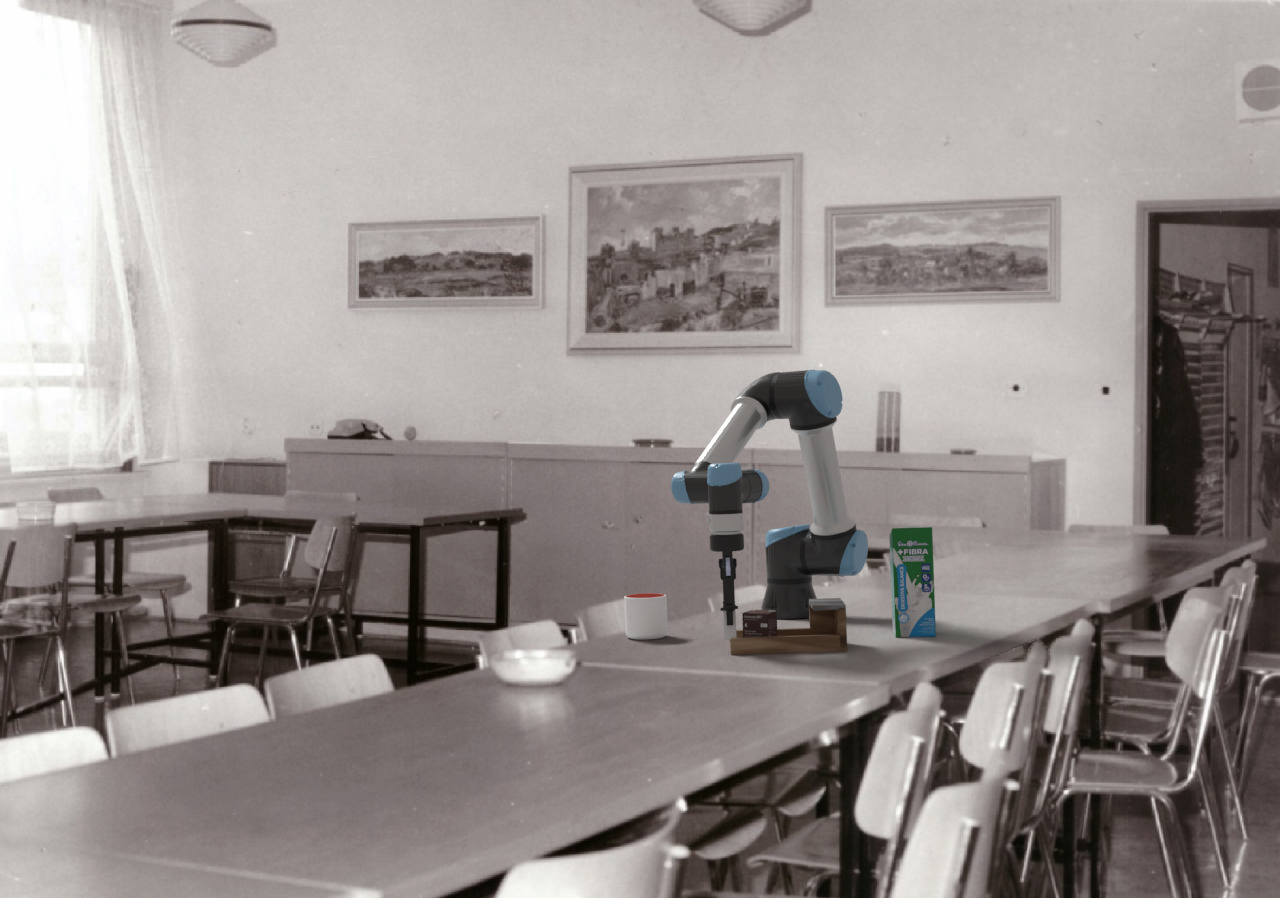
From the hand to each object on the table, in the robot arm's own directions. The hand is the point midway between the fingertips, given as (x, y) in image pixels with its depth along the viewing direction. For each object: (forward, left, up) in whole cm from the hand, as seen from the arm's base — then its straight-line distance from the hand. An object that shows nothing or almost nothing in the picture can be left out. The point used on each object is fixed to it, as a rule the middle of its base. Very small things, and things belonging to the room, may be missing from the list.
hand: (730, 639), depth 318 cm
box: (0, +7, -2) cm, 7 cm away
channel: (0, +12, -2) cm, 13 cm away
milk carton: (-16, +42, -3) cm, 45 cm away
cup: (-24, -20, -3) cm, 31 cm away
